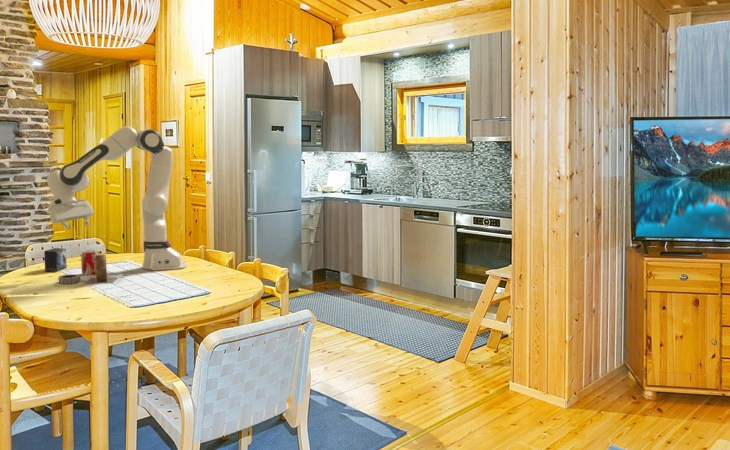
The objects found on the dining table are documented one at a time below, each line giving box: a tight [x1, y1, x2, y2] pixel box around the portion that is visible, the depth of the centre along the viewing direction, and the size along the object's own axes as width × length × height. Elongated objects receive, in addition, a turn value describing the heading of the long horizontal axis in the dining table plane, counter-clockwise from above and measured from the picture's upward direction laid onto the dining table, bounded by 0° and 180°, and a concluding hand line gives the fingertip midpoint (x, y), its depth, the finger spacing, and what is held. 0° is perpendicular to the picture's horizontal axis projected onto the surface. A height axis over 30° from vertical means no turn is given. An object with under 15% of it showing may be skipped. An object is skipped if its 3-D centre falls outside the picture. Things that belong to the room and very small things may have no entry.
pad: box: [84, 276, 118, 285], centre depth 292 cm, size 12×12×1 cm
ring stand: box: [54, 274, 85, 287], centre depth 287 cm, size 12×12×4 cm
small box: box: [44, 247, 67, 272], centre depth 321 cm, size 11×6×10 cm, turn 179°
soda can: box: [80, 250, 98, 276], centre depth 307 cm, size 7×7×12 cm
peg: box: [95, 254, 108, 282], centre depth 289 cm, size 4×4×12 cm
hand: (78, 226), depth 304 cm, fingers open, 8 cm apart
